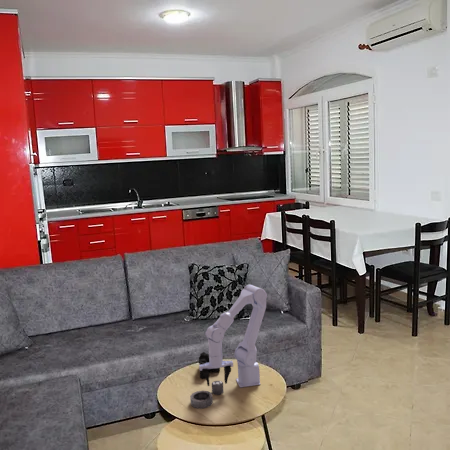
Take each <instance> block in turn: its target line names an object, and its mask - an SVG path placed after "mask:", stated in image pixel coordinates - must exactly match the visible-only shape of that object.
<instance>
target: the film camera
mask: <svg viewBox="0 0 450 450" xmlns="http://www.w3.org/2000/svg"><path fill="white" fill-rule="evenodd" d="M208 362H209V353H207V352H204V351H203V352H201V353H200V355H199V356H198V366H199V365H201V364H205V363H208ZM198 369H199V368H198ZM220 371H221V368H213V369H208V372H209V374H210V373H216V372H217V373H218V372H220ZM199 379H201V380H204V379H205V380H206V378H205V376H204V374H203V372H202V371H200V369H199Z"/></svg>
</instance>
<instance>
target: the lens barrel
mask: <svg viewBox="0 0 450 450" xmlns="http://www.w3.org/2000/svg"><path fill="white" fill-rule="evenodd" d="M213 403H214V399H213V394H212V392H210V391H208V390H197V391H194V392H192V393H191V395H190V406H191V407H192V408H194V409H200V410H202V409H207V408H208V407H209V408H210V407H211V406H213V405H212V404H213Z"/></svg>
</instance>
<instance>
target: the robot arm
mask: <svg viewBox="0 0 450 450" xmlns="http://www.w3.org/2000/svg"><path fill="white" fill-rule="evenodd" d="M267 298H268V294H267V292H266V291H265V289H264V288H262V287H258V286H255V285H254V284H252V283H251V284H247V285H246V284H245V286H244V288H243V289H241V291H240V294H239V296H238V298H237V299H235V302H234V303H233V304H232V306H231V307H230V309H229V310H228V311H225V312H223V313H221V314H220V315H219V318H217V320H216V321H215V322H214V323H213V324H212V325H210V326H208V327H207V329H206V331H205V333H204V335H205V337H206V338H207V343H208V354H209V362H208V363H205V364H201V365H199V364H198V366H199V367H198V369H200V370H199V372H200V371H202V372H203V374H204V376H205V378H206V379H205V380H206V384H207V387H210V377H209V376H210V373H209V372H208V369H213V368H220V369H221V368H223V374H224V377H223V378H224V380H223V381H224V383H225V385H226V384H228V378H229V376H230V373H231V372H232V367H234V361H233V360H223V358H224V357H223V342H222V340H223V339H224V338H225V334H226V332H227V330H228V329H229V328H230V326H231V325H232V324H233V323H234V320H235V317H236V316H237V314H238V313H240V312H241V310H242V309H243V308H244V307H245V306H246V305H251V306H252V311H251V314H250V318H249V321H248V324H247V325H246V330H245V334H244V336H243V339H242V341H241V342H239V343H238V346H236V348H235V350H234V354H233V356H234V358H235V360H236V362H237V378H235V380H236V382H237V384H238V387H239V388H245V387H246V388H247V387H252V386H258V385H259V386H260V385H261V379H260V378H261V377H260V376H261V375H260V373H261V372H260V366H259V362H257V353H258V350H257V347H256V343H257V339H258V336H259V333H260V329H261V325H262V323H263V318H264V316H265V312H266V308H267Z"/></svg>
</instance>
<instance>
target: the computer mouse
mask: <svg viewBox="0 0 450 450" xmlns="http://www.w3.org/2000/svg"><path fill="white" fill-rule="evenodd" d="M211 393H212V395H214V396H220V395H223V394H224V382H223V381H221V380H215V381H212V383H211Z"/></svg>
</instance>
